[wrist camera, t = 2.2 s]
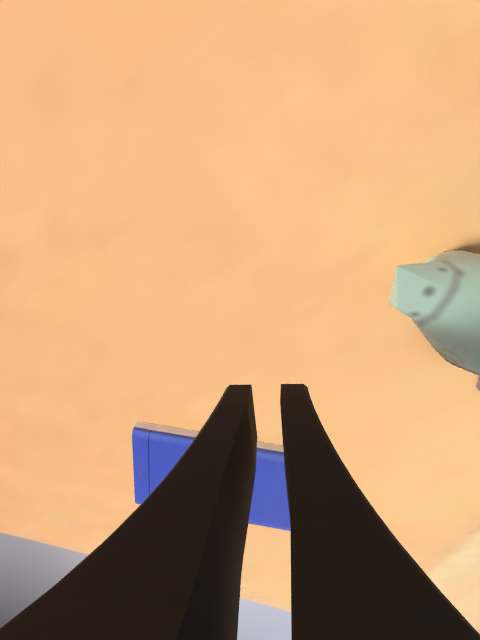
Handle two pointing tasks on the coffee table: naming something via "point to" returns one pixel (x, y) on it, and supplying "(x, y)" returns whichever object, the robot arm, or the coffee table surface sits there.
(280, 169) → the coffee table surface
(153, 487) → the hard drive
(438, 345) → the grey-green rounded piece
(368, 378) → the coffee table surface
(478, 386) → the mat
